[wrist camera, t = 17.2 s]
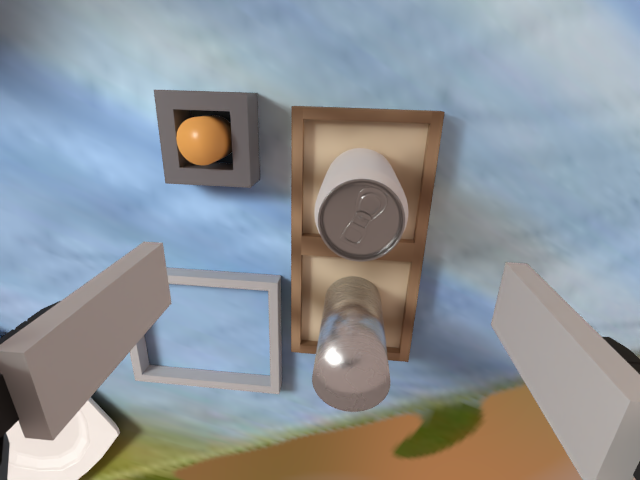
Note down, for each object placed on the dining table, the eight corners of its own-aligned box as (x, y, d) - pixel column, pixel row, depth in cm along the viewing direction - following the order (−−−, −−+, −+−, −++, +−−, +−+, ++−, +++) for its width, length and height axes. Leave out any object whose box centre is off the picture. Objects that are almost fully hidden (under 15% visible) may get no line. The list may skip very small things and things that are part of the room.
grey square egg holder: (173, 90, 34) (153, 89, 31) (257, 93, 34) (246, 92, 31) (182, 175, 37) (165, 183, 34) (259, 179, 37) (250, 187, 33)
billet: (325, 274, 39) (312, 346, 28) (383, 278, 38) (394, 353, 27) (324, 322, 41) (311, 407, 30) (378, 327, 40) (386, 414, 29)
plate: (142, 417, 51) (131, 434, 48) (59, 493, 59) (46, 510, 56) (-15, 304, 46) (-36, 316, 44) (-83, 402, 54) (-104, 417, 52)
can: (407, 165, 34) (431, 199, 23) (374, 225, 36) (382, 282, 25) (343, 134, 33) (337, 154, 22) (314, 197, 36) (295, 242, 25)
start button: (193, 114, 34) (173, 116, 31) (235, 115, 34) (220, 117, 30) (197, 157, 36) (179, 164, 32) (237, 159, 36) (223, 166, 32)
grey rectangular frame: (123, 264, 42) (114, 271, 40) (280, 275, 40) (277, 283, 39) (143, 370, 47) (135, 380, 46) (281, 383, 46) (279, 394, 44)
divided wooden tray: (295, 105, 34) (291, 106, 32) (439, 110, 33) (444, 111, 31) (294, 340, 43) (291, 351, 42) (406, 350, 42) (408, 361, 41)
